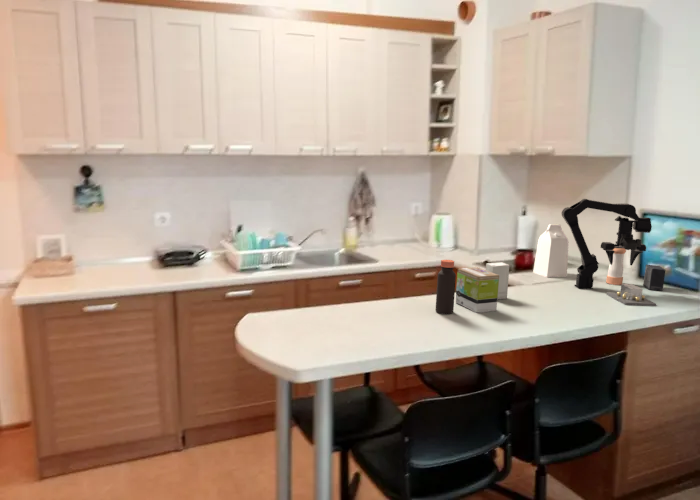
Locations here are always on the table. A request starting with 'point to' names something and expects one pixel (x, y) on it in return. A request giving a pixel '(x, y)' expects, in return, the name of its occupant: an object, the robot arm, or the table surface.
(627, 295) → the block
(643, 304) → the pin tray
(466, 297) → the tea box
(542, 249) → the milk
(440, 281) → the bottle
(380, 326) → the table surface
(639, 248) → the robot arm
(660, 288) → the small box
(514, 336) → the table surface
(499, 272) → the skincare box
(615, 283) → the pepper shaker
